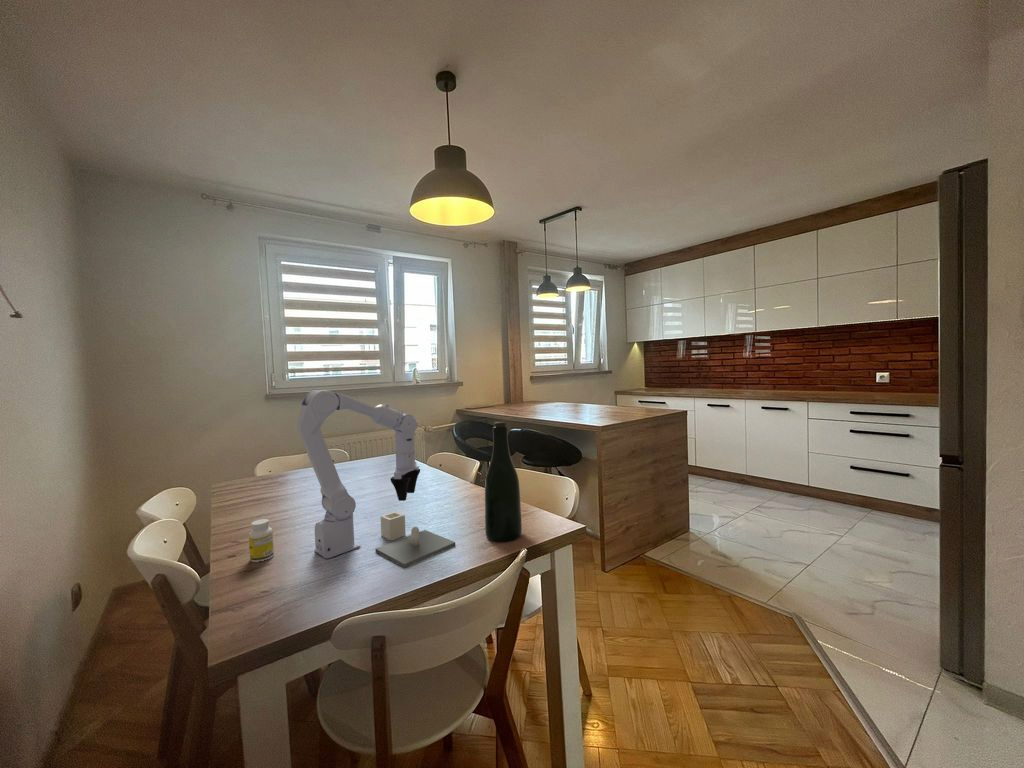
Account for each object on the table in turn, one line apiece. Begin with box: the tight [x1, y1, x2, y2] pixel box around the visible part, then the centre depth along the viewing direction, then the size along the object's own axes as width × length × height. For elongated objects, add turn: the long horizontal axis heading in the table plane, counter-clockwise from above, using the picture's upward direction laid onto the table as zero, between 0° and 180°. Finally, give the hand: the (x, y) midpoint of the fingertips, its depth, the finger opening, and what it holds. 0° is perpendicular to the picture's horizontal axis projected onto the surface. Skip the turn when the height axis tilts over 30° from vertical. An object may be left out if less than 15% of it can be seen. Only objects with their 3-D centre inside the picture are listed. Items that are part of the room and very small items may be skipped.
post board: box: [374, 526, 456, 569], centre depth 109 cm, size 16×14×6 cm
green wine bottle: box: [484, 421, 523, 543], centre depth 115 cm, size 10×10×33 cm
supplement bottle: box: [248, 518, 275, 563], centre depth 106 cm, size 5×5×10 cm
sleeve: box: [380, 511, 406, 541], centre depth 118 cm, size 5×5×6 cm
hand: (406, 496), depth 124 cm, fingers open, 7 cm apart
